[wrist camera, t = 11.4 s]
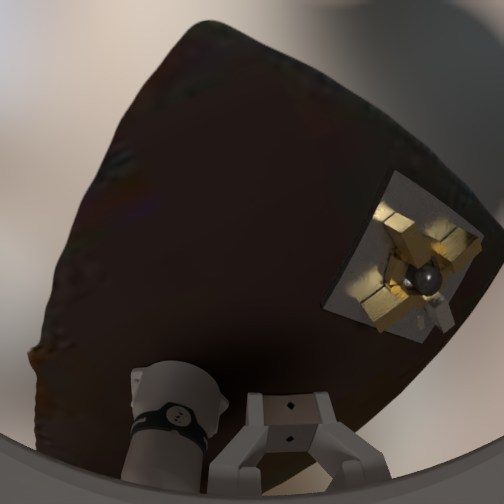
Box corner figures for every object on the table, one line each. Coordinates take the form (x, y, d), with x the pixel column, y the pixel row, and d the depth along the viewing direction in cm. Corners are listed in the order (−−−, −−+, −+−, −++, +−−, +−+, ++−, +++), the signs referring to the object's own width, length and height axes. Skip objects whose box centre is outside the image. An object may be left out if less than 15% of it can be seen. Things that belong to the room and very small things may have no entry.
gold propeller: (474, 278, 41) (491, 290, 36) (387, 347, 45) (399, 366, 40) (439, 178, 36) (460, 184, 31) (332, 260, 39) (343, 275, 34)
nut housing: (417, 337, 47) (434, 359, 41) (319, 302, 44) (331, 327, 37) (477, 232, 41) (502, 244, 34) (388, 168, 38) (413, 173, 31)
